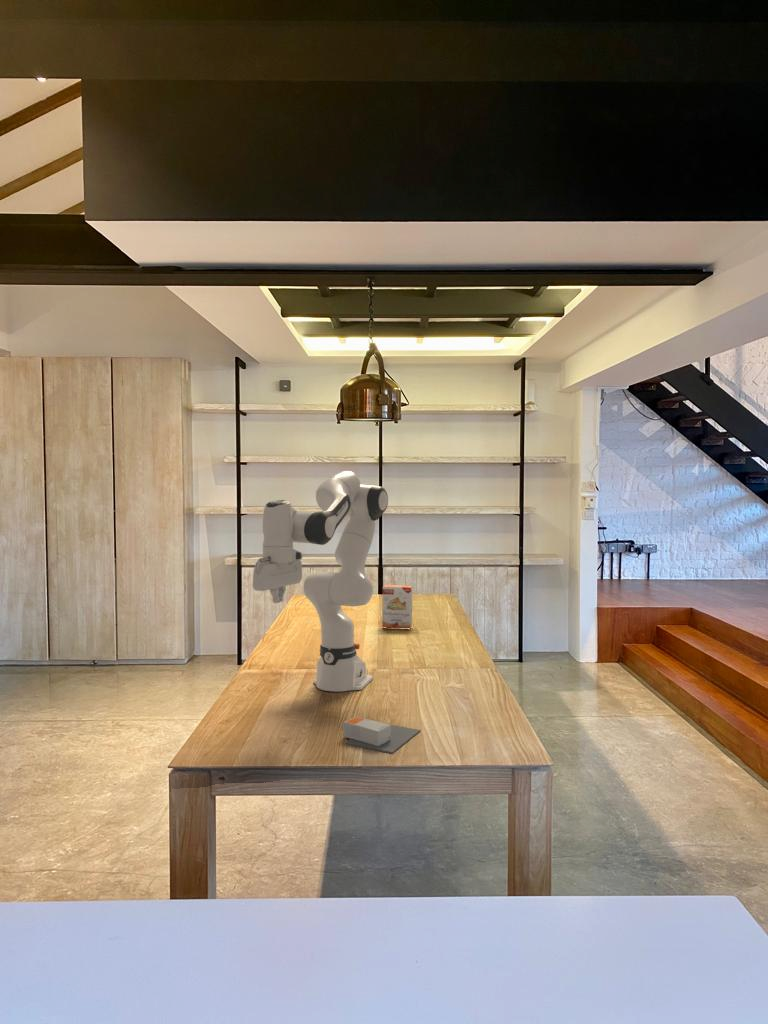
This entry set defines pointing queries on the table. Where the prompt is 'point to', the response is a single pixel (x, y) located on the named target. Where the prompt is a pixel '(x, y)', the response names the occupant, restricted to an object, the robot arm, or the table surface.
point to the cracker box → (397, 606)
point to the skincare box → (367, 731)
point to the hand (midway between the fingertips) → (277, 602)
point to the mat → (397, 740)
